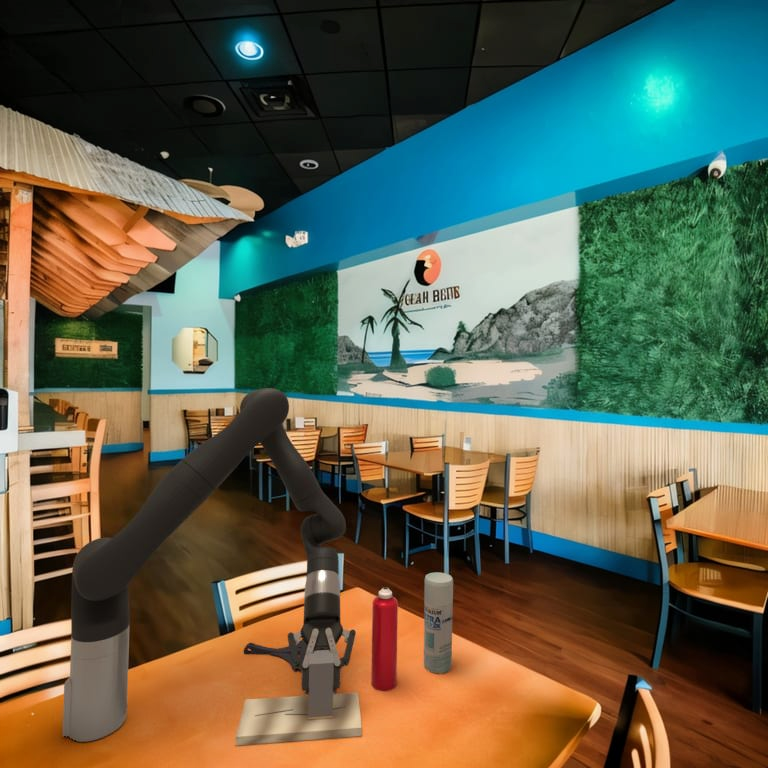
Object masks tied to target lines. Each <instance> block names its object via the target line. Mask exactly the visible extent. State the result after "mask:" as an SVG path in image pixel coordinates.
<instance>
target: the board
mask: <svg viewBox="0 0 768 768" xmlns="http://www.w3.org/2000/svg"><path fill="white" fill-rule="evenodd" d="M308 700H309V695H299V696H298V695H295V696H280V697H266V698H265V697H264V698H250V699H247V698H246V699H245V701H244V705H243V707H242V711H241V715H240V719H239V722H238V727H237V730H236V735H235V747H236V746H249V745H263V744H274V743H289V742H302V741H315V740H328V739H339V738H340V739H341V738H355V737H362V736H363V735H362V731H363V730H362V719H361V711H360V710H361V709H360V702H359V700H360V699H359V692H358V691H357V692H356V691H355V692H342V693H333V718H322V719H308Z"/></svg>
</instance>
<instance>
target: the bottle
mask: <svg viewBox="0 0 768 768" xmlns="http://www.w3.org/2000/svg"><path fill="white" fill-rule="evenodd" d="M398 610H399V602H398V600H397V598H396V597H395V596H393V592H392V590H390V588H389V587H387V586H385V587H384V586H383V587H382V588H381V590H379V591H378V595H376V597H374V598H373V600H372V615H371V617H372V619H371V621H372V622H371V623H372V624H371V665H370V666H371V673H370V675H371V676H370V678H371V679H370V681H371V682H370V683H371V684H370V685H371V687H373V688H374V689H375V690H378V691H381V692H386V691H391V690H394V689H395V688H396V687H397V682H398V681H397V680H398V679H397V677H398V672H397V671H398V624H399V623H398V622H399V621H398V620H399V619H398V617H399V616H398V614H399V611H398Z"/></svg>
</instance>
